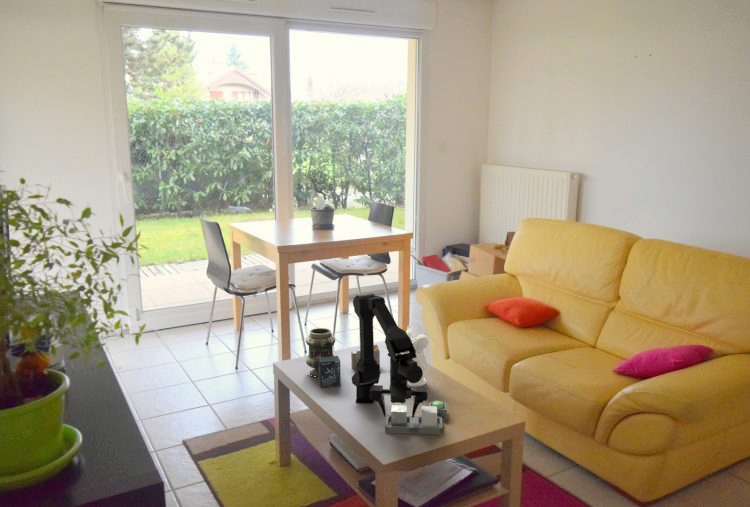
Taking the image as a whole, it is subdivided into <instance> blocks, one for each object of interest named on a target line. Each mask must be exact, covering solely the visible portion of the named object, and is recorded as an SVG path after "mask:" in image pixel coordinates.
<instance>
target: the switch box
mask: <svg viewBox="0 0 750 507" xmlns="http://www.w3.org/2000/svg"><path fill="white" fill-rule="evenodd" d="M433 402H434V401H428V406H432V403H433ZM442 402H443V401H442ZM447 408H448V407H447V402H446V401H445V402H443V409H437V417H442V420H447V419H448V418H447V417H448V409H447Z"/></svg>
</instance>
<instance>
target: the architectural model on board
mask: <svg viewBox="0 0 750 507" xmlns="http://www.w3.org/2000/svg"><path fill="white" fill-rule="evenodd" d="M380 352H381V351H380V348H379V346H378V344H374V359H375V361H376V362H377V363H378V364H379V365H381V356H380V354H381V353H380ZM350 357H351V369H353V370H356V365H357V363H358V361H359V359H360V350H356V353H354V352H353V351H351V356H350ZM353 370H352V371H353Z"/></svg>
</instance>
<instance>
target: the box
mask: <svg viewBox="0 0 750 507" xmlns="http://www.w3.org/2000/svg"><path fill="white" fill-rule="evenodd" d="M318 366H319V367H318V368H319V378H318V384H320V385H319V387H320V388H321V387H323V388H329V387H328V386H334V387H341V360H340V357H339V355H334V356H330V357H318Z"/></svg>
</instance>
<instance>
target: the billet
mask: <svg viewBox="0 0 750 507" xmlns="http://www.w3.org/2000/svg"><path fill="white" fill-rule="evenodd" d="M390 409H391V410H390V415H391V426H407V416H408V415H407V414H408V406H407V405H402V404H401V405H400V404H399V405H398V404H397V405H396V404H394V405H393V404H391V408H390Z"/></svg>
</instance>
